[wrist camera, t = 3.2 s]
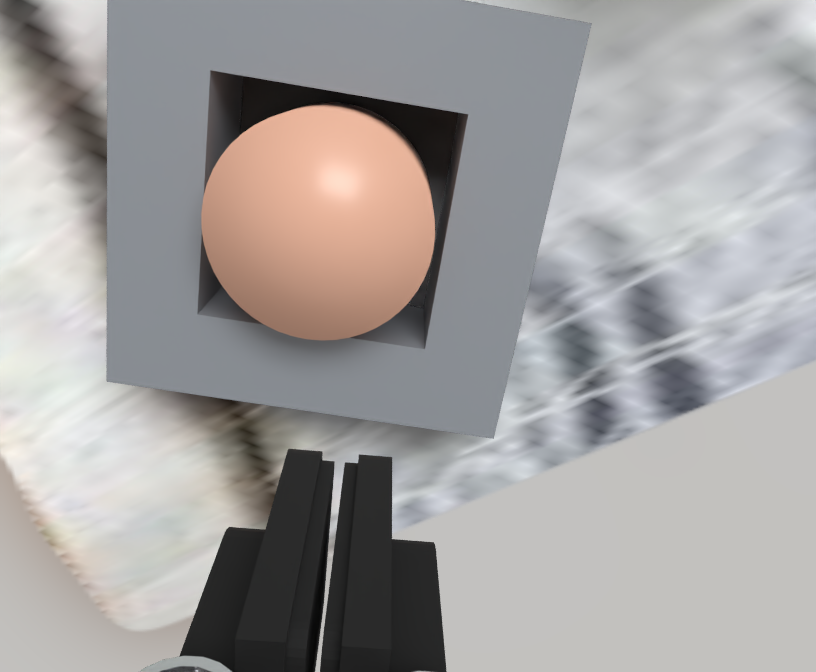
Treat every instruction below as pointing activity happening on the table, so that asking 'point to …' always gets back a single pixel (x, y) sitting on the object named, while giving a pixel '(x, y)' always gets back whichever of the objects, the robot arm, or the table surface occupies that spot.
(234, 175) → the button
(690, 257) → the table surface
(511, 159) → the button base
